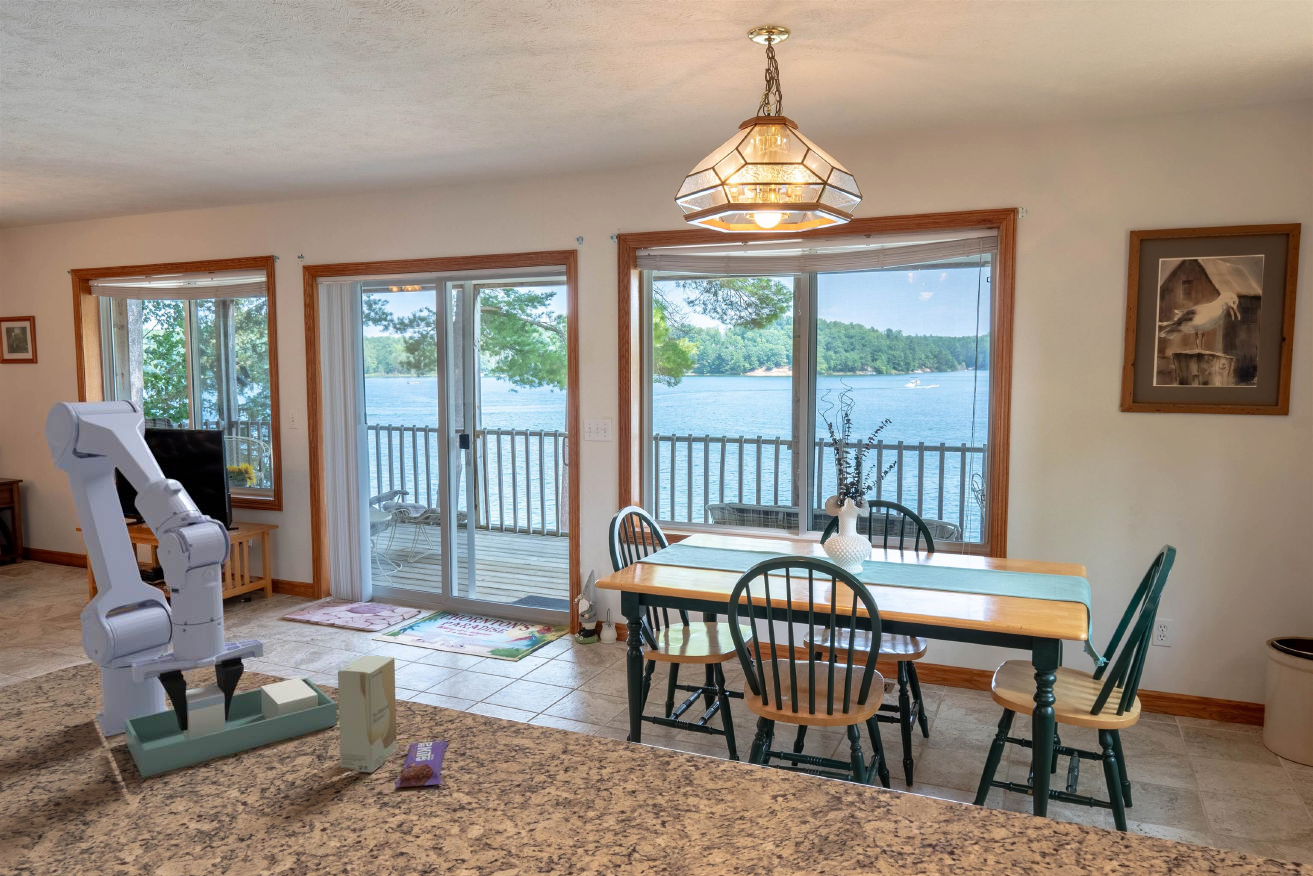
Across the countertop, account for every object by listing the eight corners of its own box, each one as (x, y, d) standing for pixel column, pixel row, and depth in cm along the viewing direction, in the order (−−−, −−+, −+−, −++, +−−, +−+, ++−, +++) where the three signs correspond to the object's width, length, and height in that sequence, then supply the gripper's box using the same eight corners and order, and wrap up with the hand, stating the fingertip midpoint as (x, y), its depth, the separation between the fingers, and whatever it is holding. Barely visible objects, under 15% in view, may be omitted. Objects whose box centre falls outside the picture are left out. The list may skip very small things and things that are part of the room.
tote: (126, 746, 107) (124, 720, 107) (307, 701, 122) (307, 677, 121) (142, 781, 98) (141, 752, 98) (337, 728, 113) (336, 702, 112)
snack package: (408, 735, 107) (449, 733, 108) (409, 750, 107) (449, 748, 108) (394, 779, 96) (440, 776, 96) (395, 795, 96) (440, 792, 97)
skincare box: (372, 774, 100) (368, 673, 99) (338, 771, 101) (335, 671, 100) (399, 750, 106) (396, 655, 105) (367, 747, 107) (364, 653, 106)
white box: (262, 714, 116) (260, 686, 116) (299, 705, 119) (298, 677, 119) (279, 733, 110) (278, 704, 109) (318, 723, 113) (317, 694, 113)
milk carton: (183, 737, 108) (181, 691, 107) (218, 728, 110) (216, 683, 110) (190, 748, 105) (188, 701, 104) (226, 739, 107) (224, 693, 107)
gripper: (136, 638, 99) (142, 750, 100) (268, 614, 108) (272, 717, 109) (126, 624, 104) (133, 731, 105) (252, 602, 113) (257, 701, 114)
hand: (203, 723), depth 108 cm, fingers closed on milk carton, 4 cm apart
